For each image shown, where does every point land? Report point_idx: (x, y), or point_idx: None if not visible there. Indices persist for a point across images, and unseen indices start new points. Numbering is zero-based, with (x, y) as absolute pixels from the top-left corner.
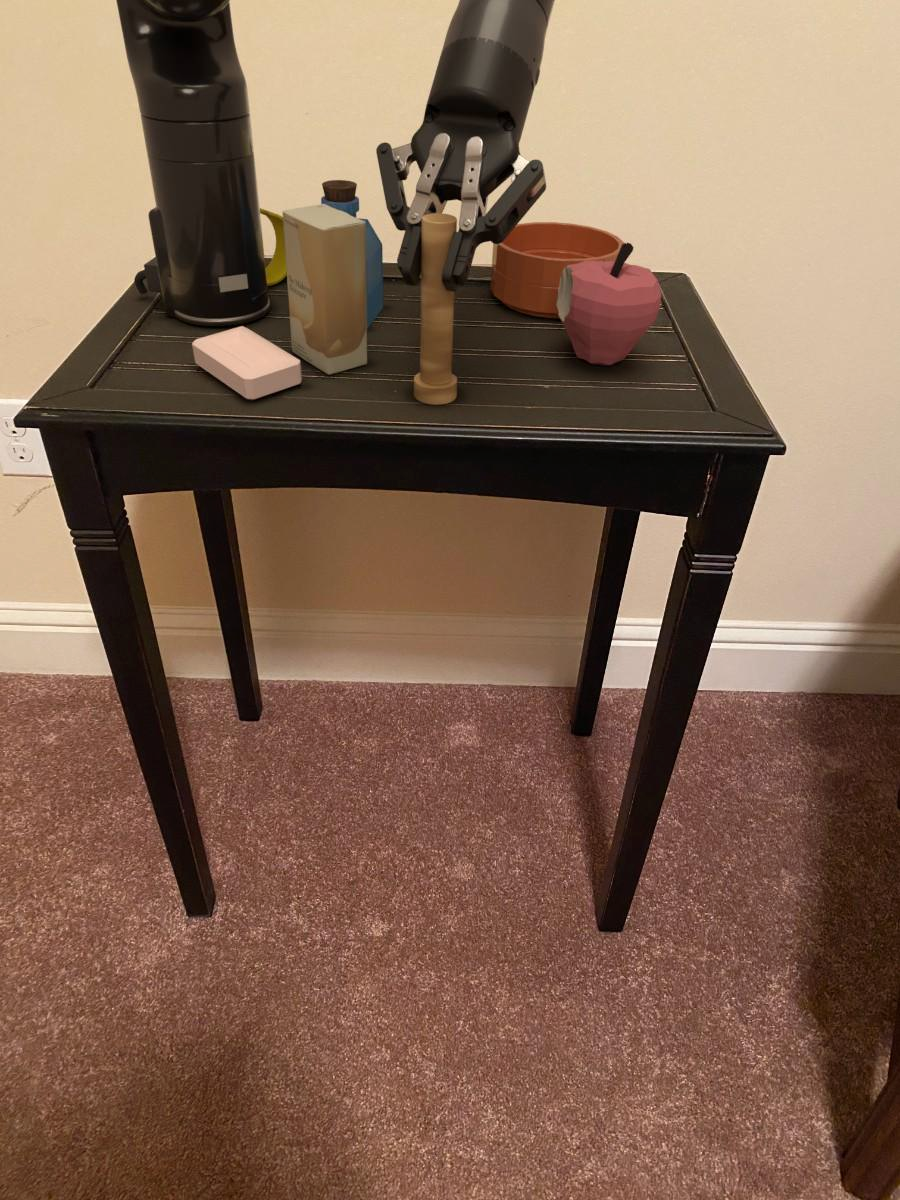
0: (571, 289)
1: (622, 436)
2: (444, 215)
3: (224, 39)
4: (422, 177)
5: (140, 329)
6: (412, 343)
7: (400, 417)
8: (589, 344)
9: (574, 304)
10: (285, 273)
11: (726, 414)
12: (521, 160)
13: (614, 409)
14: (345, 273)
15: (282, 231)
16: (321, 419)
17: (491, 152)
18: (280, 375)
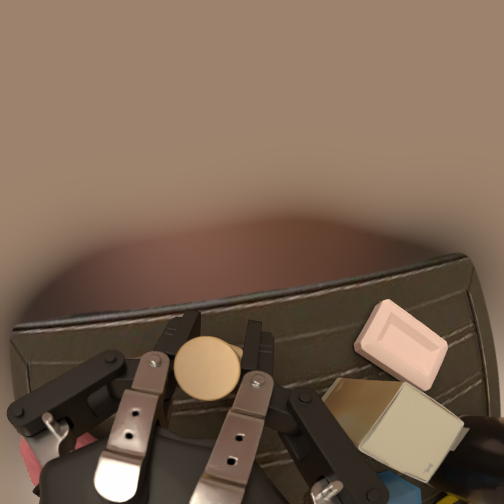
0: None
1: (78, 317)
2: (199, 386)
3: None
4: (253, 433)
5: (484, 389)
6: (277, 471)
7: (250, 315)
8: (91, 435)
9: (87, 442)
10: None
11: (22, 359)
12: (42, 457)
13: (81, 362)
14: (357, 405)
15: None
16: (314, 294)
17: (88, 478)
18: (368, 325)
